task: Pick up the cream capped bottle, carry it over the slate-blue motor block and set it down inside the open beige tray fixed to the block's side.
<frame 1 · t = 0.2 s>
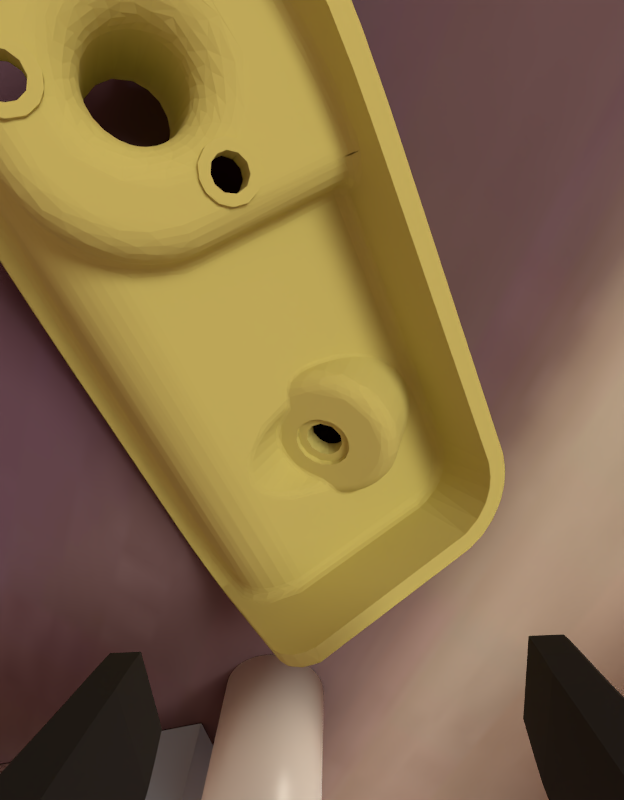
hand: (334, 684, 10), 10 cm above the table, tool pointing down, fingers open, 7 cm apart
cream capped bottle: (275, 691, 23), on the table
motor block: (175, 788, 26), on the table
plastic component: (254, 294, 17), on the table
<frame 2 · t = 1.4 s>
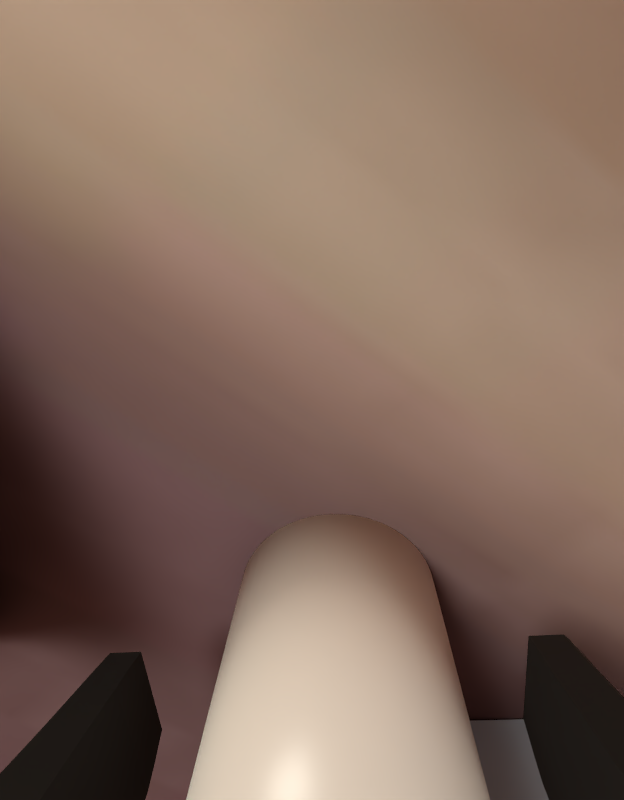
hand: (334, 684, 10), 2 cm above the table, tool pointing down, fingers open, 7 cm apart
cream capped bottle: (337, 596, 12), on the table
motor block: (543, 799, 14), on the table
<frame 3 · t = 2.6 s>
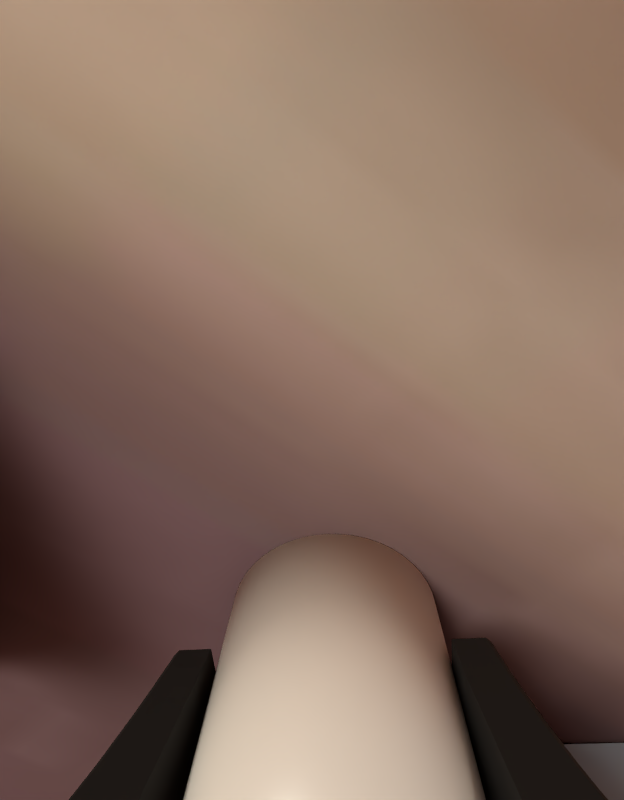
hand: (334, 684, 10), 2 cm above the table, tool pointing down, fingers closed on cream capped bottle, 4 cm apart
cream capped bottle: (333, 619, 11), on the table, touching gripper
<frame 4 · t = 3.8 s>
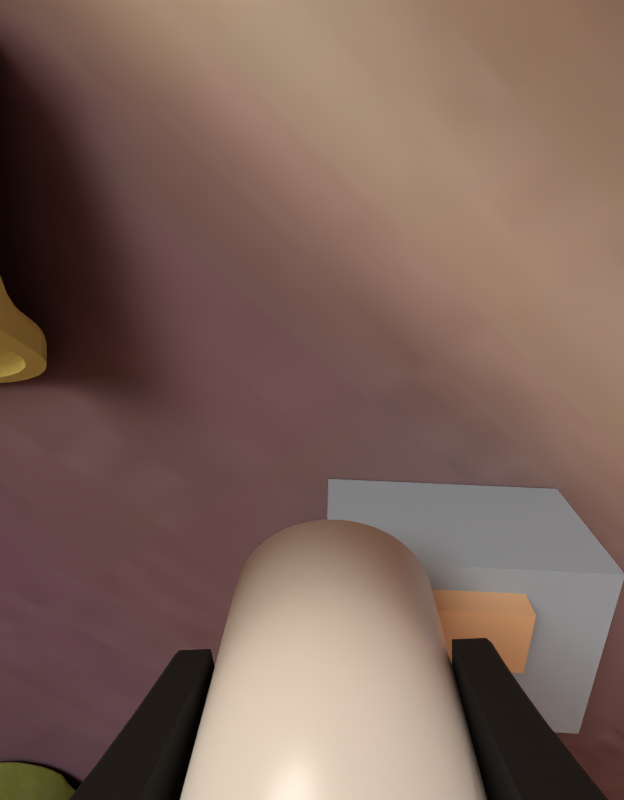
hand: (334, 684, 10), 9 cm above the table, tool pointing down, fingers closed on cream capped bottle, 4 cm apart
cream capped bottle: (333, 604, 11), point 7 cm above the table, touching gripper
motor block: (432, 554, 19), on the table
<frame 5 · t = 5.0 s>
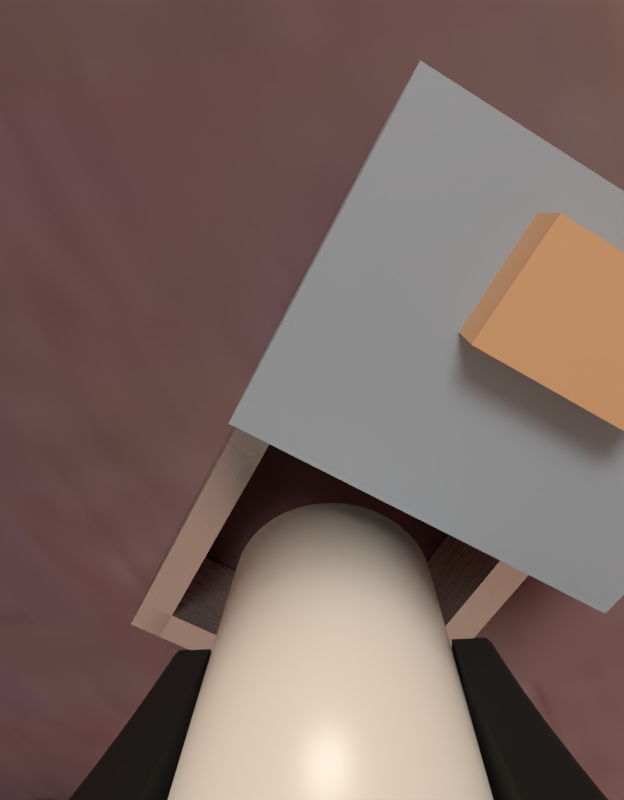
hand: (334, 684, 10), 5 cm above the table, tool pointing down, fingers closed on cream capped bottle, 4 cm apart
cream capped bottle: (332, 590, 11), point 3 cm above the table, touching gripper
motor block: (463, 327, 12), on the table
beige tray: (335, 521, 15), on the table
when the fingers open (3 cm above the table, at t = 6.2 s): cream capped bottle drops 1 cm, resting in beige tray.
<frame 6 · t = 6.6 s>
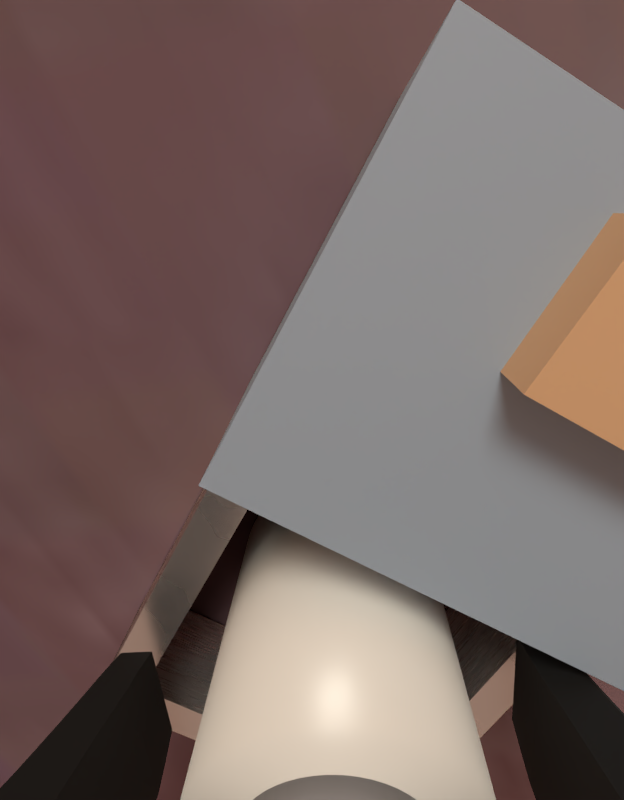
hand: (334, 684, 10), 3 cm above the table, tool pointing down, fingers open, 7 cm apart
cream capped bottle: (336, 557, 12), resting in beige tray
motor block: (488, 349, 11), on the table
beige tray: (335, 570, 13), on the table
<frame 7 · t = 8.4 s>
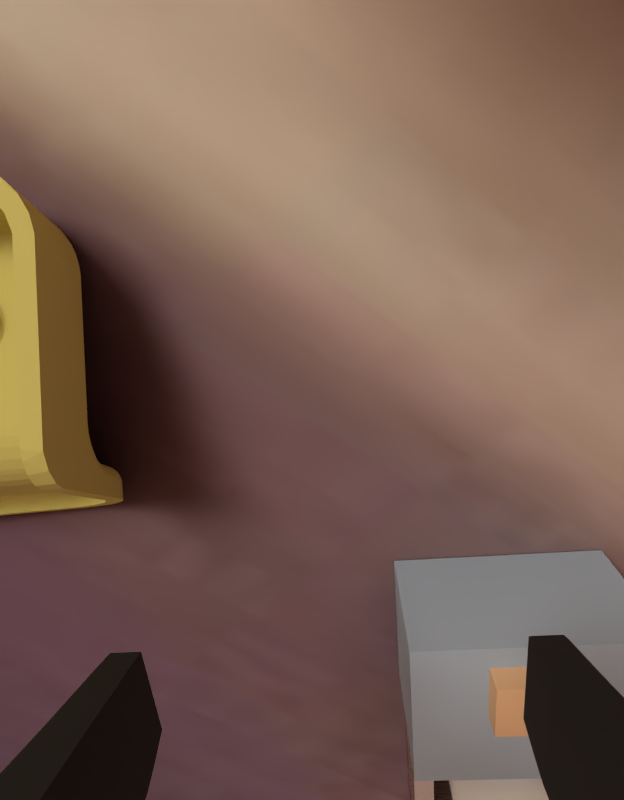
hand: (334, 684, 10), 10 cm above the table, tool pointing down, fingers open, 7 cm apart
cream capped bottle: (486, 721, 23), resting in beige tray
motor block: (494, 615, 21), on the table
beige tray: (490, 726, 23), on the table
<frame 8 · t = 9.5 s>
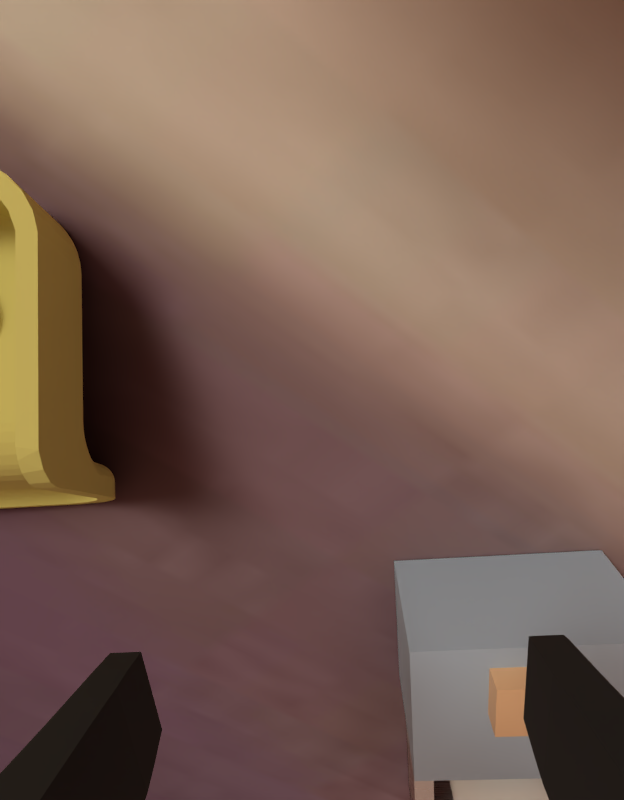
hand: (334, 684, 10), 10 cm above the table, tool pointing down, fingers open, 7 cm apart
cream capped bottle: (486, 721, 23), resting in beige tray
motor block: (494, 616, 21), on the table
beige tray: (490, 726, 23), on the table
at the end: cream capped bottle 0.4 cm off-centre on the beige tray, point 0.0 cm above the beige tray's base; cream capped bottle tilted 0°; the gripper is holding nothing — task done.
